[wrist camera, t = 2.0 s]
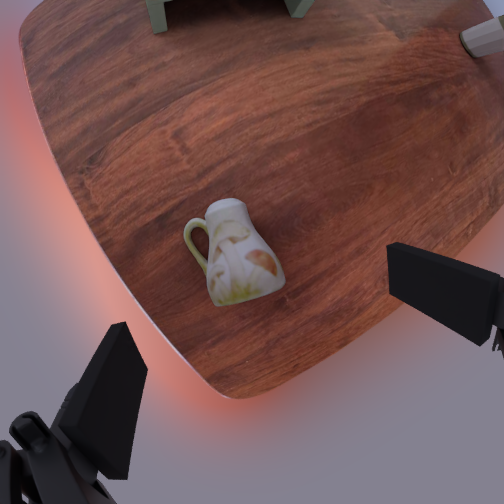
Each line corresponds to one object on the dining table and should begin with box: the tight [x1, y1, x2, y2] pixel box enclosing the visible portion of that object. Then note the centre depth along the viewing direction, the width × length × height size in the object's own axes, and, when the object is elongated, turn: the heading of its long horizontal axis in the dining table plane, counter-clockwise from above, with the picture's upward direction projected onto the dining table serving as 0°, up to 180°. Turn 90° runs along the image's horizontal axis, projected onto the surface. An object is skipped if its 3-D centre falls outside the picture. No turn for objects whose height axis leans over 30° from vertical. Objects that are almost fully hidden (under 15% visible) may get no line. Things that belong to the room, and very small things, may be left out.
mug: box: [184, 198, 285, 306], centre depth 25 cm, size 8×10×10 cm
